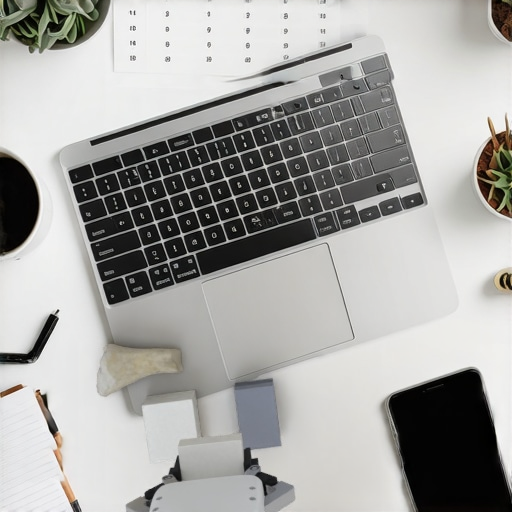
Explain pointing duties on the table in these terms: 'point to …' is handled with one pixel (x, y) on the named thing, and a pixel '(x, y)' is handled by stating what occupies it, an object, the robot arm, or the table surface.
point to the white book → (211, 457)
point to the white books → (169, 423)
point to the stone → (133, 366)
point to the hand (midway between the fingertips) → (215, 465)
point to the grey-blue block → (257, 414)
